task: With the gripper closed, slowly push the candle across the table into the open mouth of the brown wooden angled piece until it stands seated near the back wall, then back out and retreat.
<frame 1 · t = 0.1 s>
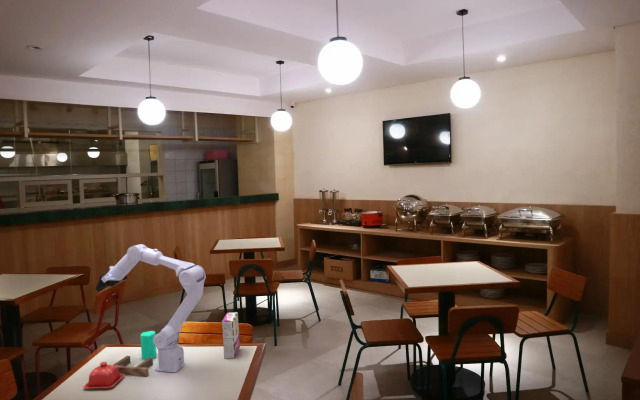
hand: (103, 287, 191), 32 cm above the table, tool tilted 50°, fingers open, 7 cm apart
butter dish: (104, 384, 174), on the table
brown wooden angled piece: (133, 368, 187), on the table
candle: (149, 357, 197), on the table
candy bar box: (232, 354, 198), on the table
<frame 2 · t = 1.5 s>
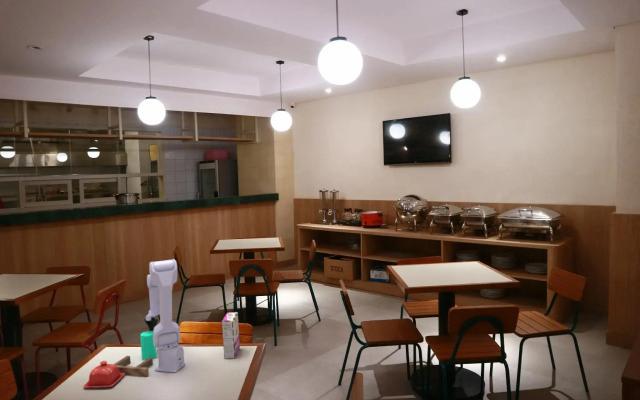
hand: (158, 331, 205), 8 cm above the table, tool pointing down, fingers open, 7 cm apart
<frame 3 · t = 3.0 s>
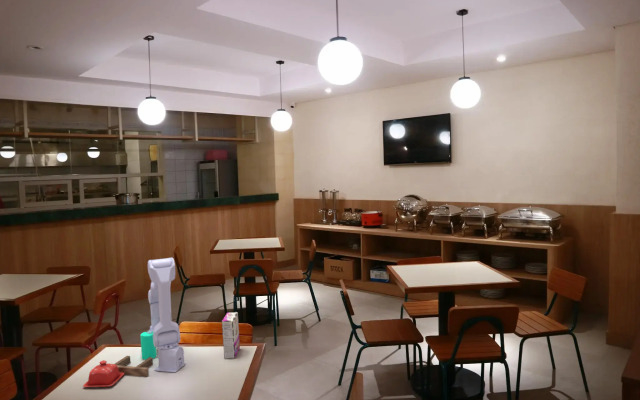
hand: (159, 346, 205), 1 cm above the table, tool pointing down, fingers closed
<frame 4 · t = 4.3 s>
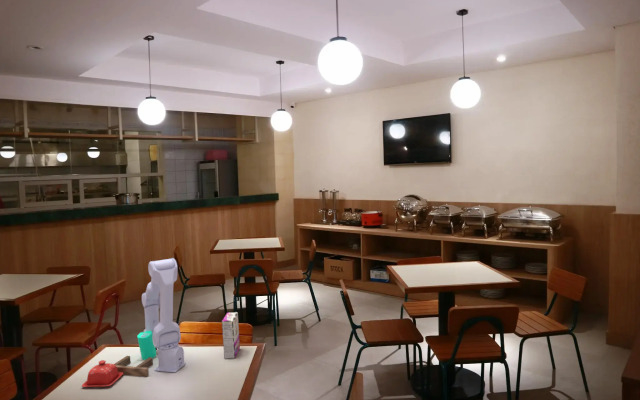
hand: (154, 350, 201), 1 cm above the table, tool pointing down, fingers closed
candle: (149, 356, 197), on the table, touching gripper
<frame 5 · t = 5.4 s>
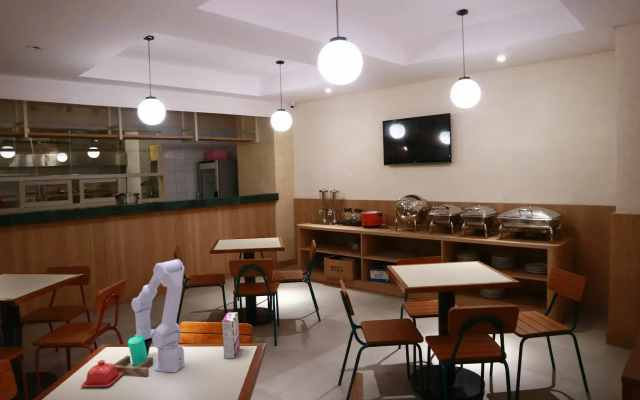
hand: (145, 356, 195), 1 cm above the table, tool pointing down, fingers closed
candle: (140, 362, 192), on the table, touching gripper
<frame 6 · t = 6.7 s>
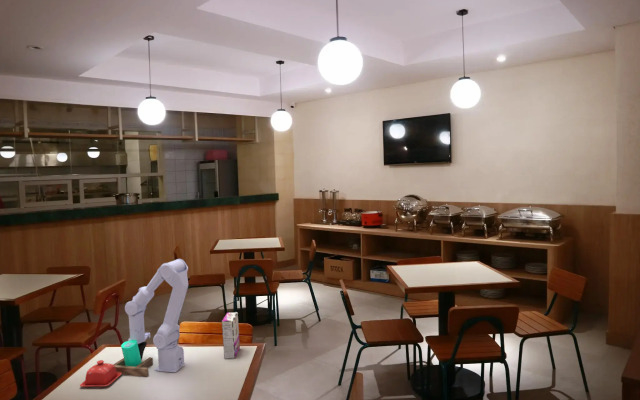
hand: (139, 360, 191), 1 cm above the table, tool pointing down, fingers closed
candle: (134, 366, 187), on the table, touching gripper
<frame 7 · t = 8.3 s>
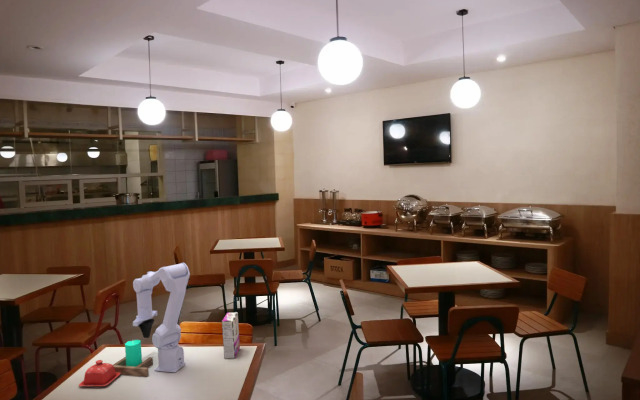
hand: (146, 337, 196), 9 cm above the table, tool pointing down, fingers closed
candle: (134, 368, 188), on the table
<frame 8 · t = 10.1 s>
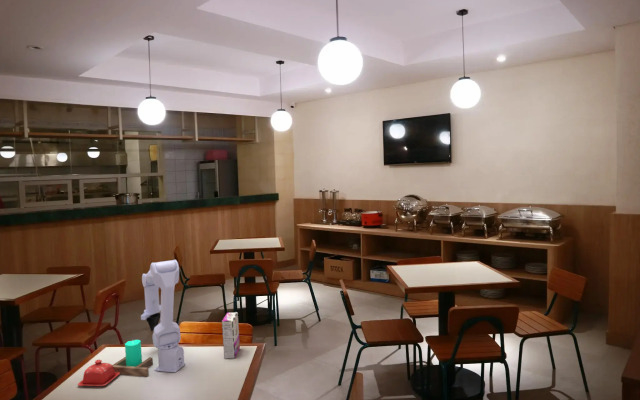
hand: (154, 330, 203), 9 cm above the table, tool pointing down, fingers closed
at the end: candle 1.3 cm off-centre on the brown wooden angled piece, point 0.0 cm above the brown wooden angled piece's base; candle tilted 0° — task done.
